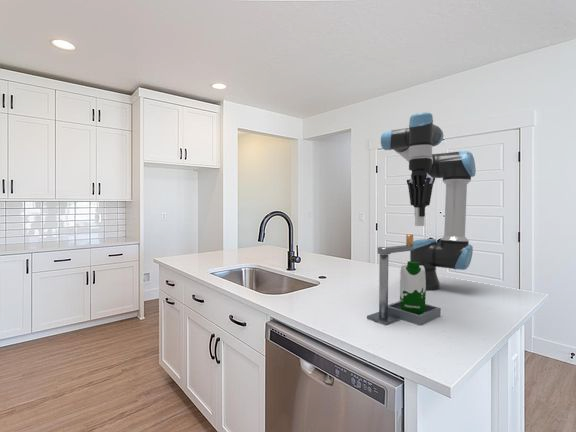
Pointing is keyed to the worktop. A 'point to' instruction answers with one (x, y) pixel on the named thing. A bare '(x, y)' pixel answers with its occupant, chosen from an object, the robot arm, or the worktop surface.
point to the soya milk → (413, 288)
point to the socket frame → (428, 314)
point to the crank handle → (398, 247)
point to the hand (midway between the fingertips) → (419, 225)
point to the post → (383, 295)
